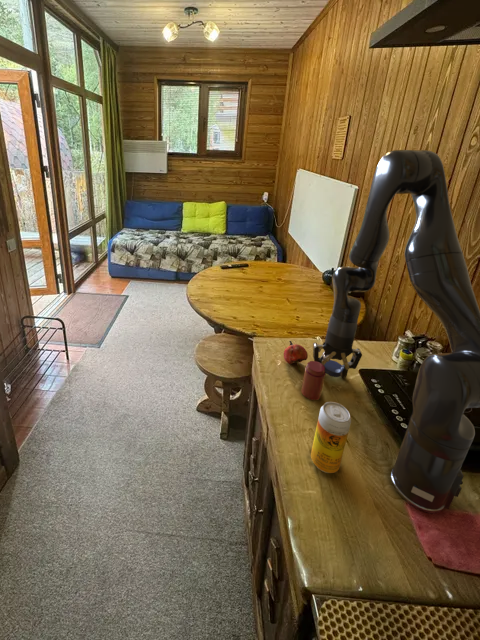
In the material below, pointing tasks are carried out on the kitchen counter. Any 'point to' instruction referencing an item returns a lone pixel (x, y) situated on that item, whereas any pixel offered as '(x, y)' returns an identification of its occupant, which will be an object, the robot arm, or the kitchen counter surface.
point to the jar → (313, 380)
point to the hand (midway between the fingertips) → (331, 374)
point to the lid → (333, 369)
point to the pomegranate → (295, 354)
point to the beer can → (330, 437)
